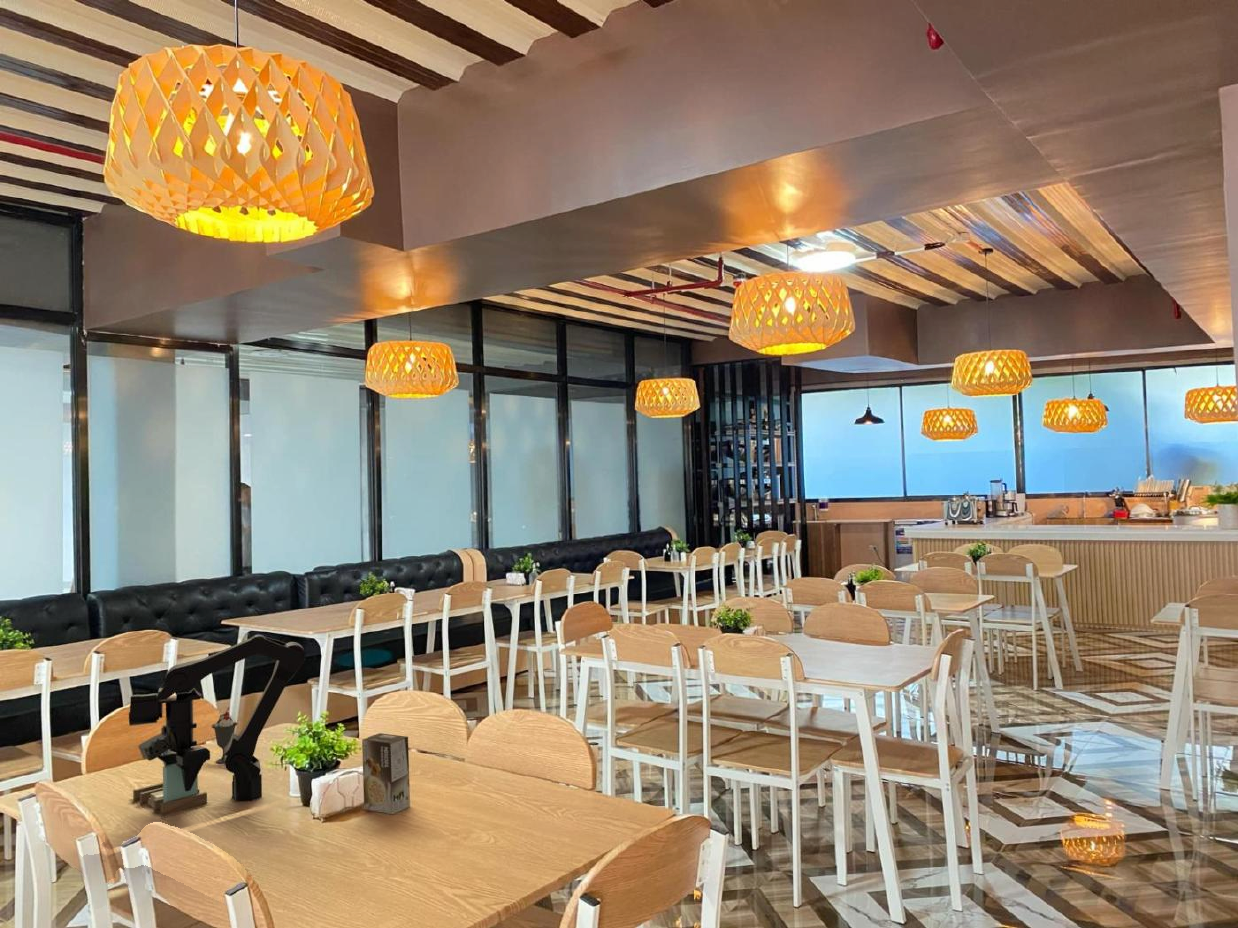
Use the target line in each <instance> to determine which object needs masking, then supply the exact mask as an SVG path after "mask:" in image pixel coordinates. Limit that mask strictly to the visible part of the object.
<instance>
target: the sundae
mask: <svg viewBox="0 0 1238 928" xmlns="http://www.w3.org/2000/svg"><path fill="white" fill-rule="evenodd" d="M229 709H230V706H228V707H227V710H226V711H225V712H224V713H223V714H221V715H219V718H218V720H217V721H216V723H213V724H211V728H212V729H213V730H214V734H215V741H216V745H217V746H218V747H219V748H221V750H222V755H221V756H222V757H221V758H219V759H217V760H215V763H216V764H225V755H224V748H225V747H226V746H227V745H228V743H229V742H230V739H231V736H232V733H234V734H235V729H236V726H237V725H239V723H238V722H236V721H234V719H233V718H232V715H230V712H228V710H229Z"/></svg>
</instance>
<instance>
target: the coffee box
mask: <svg viewBox="0 0 1238 928" xmlns="http://www.w3.org/2000/svg"><path fill="white" fill-rule="evenodd" d="M361 744H362V745H361V746H362V747H361V748H362V749H361V750H362V780H363V781H362V783H363V786H362V787H363V809H364V810H367V811H372V812H378V813H384V814H389V815H395V814H396V813H398V812H399V813H400V812H401V811H403V810H405V809H407V808H409V807H410V806H411V792H410V758H409V736H405V735H398V734H388V733H381V732H380V733H376V734H373V735H371V736H368V737H366V738H363V739H362V740H361Z"/></svg>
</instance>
